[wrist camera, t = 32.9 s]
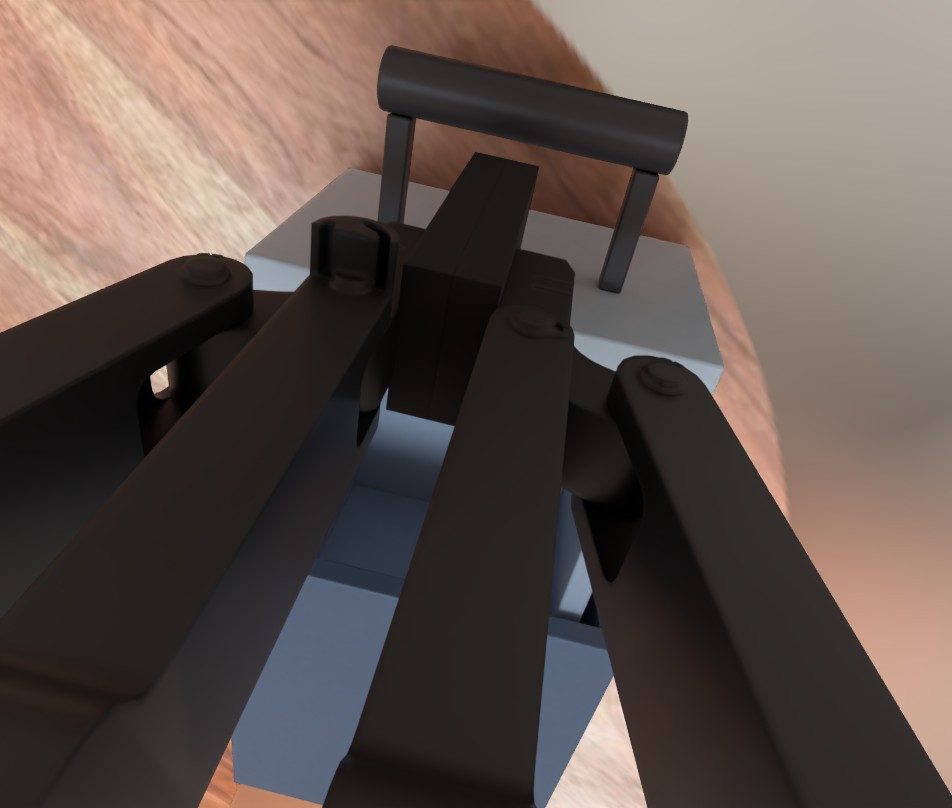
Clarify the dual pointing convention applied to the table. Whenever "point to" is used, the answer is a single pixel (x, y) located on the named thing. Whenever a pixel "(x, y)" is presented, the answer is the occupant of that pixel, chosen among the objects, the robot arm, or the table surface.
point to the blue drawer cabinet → (350, 676)
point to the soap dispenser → (266, 799)
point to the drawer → (582, 244)
